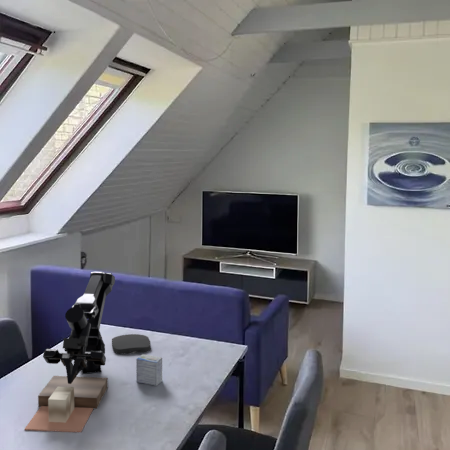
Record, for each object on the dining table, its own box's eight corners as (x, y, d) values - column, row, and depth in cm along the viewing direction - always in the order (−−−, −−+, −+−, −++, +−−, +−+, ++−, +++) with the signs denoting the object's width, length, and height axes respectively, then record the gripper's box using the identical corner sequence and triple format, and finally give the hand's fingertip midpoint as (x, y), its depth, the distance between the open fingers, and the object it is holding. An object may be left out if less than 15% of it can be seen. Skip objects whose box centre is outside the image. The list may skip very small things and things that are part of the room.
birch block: (57, 386, 159) (48, 399, 151) (74, 387, 158) (65, 399, 151) (57, 408, 160) (48, 421, 152) (74, 408, 160) (65, 422, 152)
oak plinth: (53, 385, 175) (53, 375, 174) (107, 387, 175) (107, 377, 174) (38, 406, 161) (38, 395, 160) (96, 408, 161) (96, 397, 160)
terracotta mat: (41, 407, 161) (41, 406, 161) (93, 409, 160) (93, 408, 160) (24, 430, 148) (24, 428, 148) (81, 432, 148) (81, 430, 148)
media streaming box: (110, 342, 215) (110, 335, 215) (146, 339, 220) (146, 332, 219) (114, 355, 201) (114, 348, 201) (152, 352, 206) (152, 345, 205)
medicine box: (162, 381, 181) (162, 357, 180) (156, 386, 177) (157, 362, 175) (142, 377, 183) (142, 353, 182) (135, 382, 179) (136, 358, 178)
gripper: (44, 324, 165) (31, 372, 156) (103, 326, 165) (94, 375, 155) (53, 339, 174) (41, 386, 164) (109, 341, 174) (101, 388, 164)
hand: (69, 383), depth 162 cm, fingers closed
